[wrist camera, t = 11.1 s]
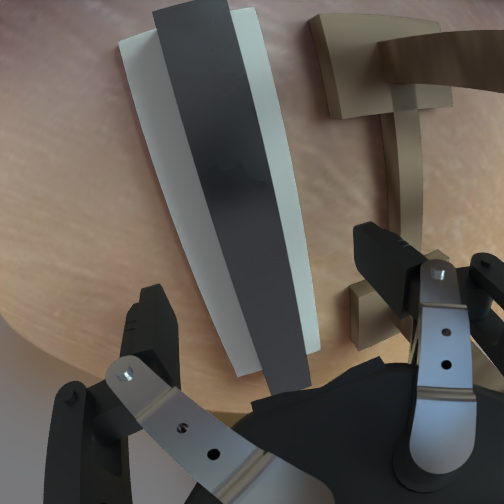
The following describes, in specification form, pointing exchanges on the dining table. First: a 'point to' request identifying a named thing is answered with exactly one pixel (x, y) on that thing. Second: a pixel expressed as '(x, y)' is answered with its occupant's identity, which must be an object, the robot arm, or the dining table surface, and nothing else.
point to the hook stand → (402, 126)
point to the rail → (235, 180)
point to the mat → (191, 194)
